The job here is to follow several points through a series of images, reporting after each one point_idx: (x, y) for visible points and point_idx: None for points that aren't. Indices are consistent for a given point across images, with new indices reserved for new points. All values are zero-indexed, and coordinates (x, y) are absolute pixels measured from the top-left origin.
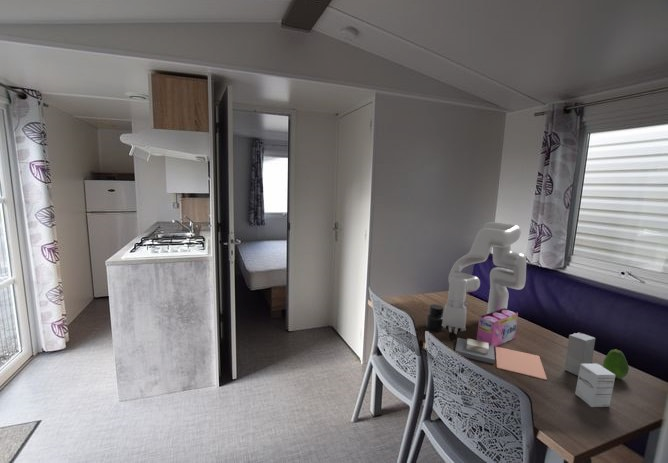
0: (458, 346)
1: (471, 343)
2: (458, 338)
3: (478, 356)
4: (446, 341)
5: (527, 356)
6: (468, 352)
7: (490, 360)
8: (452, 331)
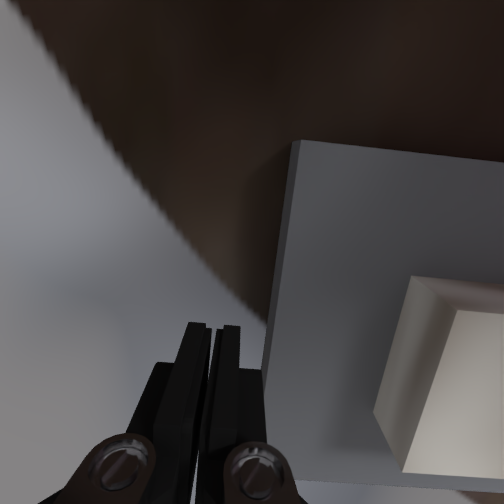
0: (290, 392)
1: (469, 445)
2: (312, 169)
3: (460, 483)
4: (160, 199)
5: None
6: (379, 468)
7: None
8: (180, 450)
